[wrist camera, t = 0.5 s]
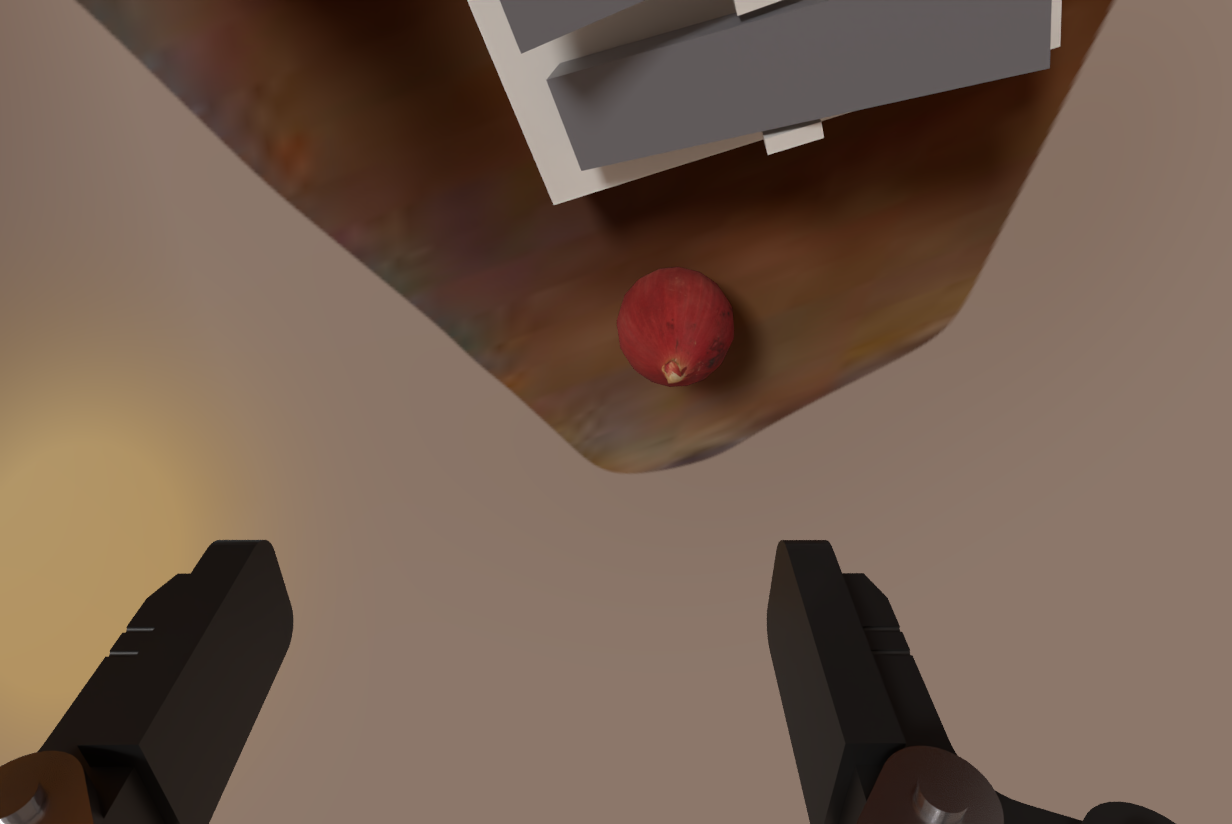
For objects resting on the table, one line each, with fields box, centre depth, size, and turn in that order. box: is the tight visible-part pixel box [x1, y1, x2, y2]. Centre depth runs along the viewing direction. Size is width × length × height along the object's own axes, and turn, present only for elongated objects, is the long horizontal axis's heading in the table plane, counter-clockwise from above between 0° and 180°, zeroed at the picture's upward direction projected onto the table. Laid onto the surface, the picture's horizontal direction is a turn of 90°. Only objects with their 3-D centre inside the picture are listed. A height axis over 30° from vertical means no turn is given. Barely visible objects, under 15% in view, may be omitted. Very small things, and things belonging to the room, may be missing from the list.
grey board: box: [546, 0, 1052, 171], centre depth 26 cm, size 4×16×2 cm, turn 109°
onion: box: [617, 267, 734, 387], centre depth 38 cm, size 6×6×8 cm
